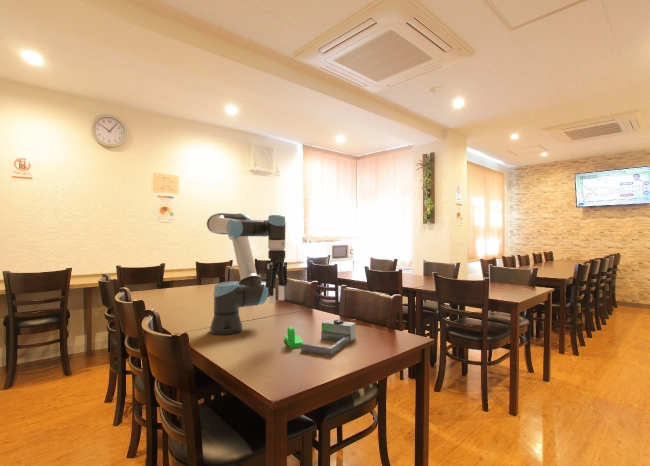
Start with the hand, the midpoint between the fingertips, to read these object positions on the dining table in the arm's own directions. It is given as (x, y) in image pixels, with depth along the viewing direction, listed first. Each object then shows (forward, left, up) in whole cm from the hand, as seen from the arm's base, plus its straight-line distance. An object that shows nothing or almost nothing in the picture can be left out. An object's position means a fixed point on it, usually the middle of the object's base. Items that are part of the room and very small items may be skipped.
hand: (276, 301), depth 151 cm
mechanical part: (+9, -1, -17) cm, 20 cm away
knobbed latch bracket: (+24, +4, -17) cm, 30 cm away
